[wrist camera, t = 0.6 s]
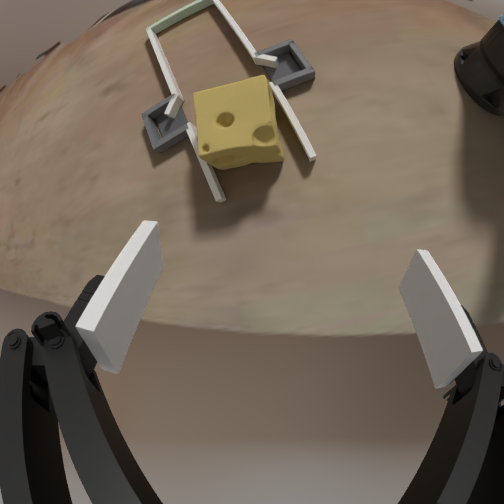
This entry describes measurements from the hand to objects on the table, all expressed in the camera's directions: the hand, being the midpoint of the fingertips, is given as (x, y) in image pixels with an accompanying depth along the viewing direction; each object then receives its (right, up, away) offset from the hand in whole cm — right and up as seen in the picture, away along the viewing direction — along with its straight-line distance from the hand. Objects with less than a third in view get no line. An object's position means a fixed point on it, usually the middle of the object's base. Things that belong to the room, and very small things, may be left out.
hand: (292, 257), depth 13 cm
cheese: (-3, +18, +28) cm, 33 cm away
